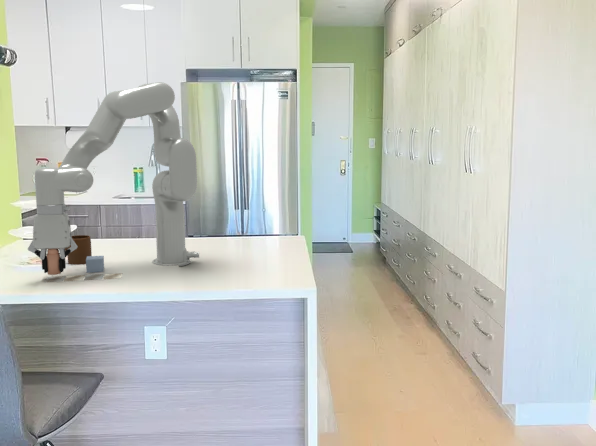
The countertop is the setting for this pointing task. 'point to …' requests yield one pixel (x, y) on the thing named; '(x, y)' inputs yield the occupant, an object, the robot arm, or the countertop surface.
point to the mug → (80, 250)
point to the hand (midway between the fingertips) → (54, 270)
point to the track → (81, 277)
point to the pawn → (53, 261)
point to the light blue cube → (94, 264)
